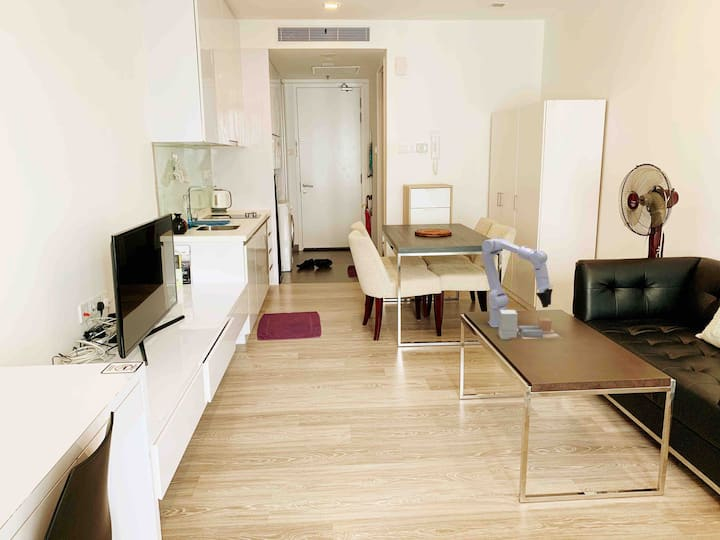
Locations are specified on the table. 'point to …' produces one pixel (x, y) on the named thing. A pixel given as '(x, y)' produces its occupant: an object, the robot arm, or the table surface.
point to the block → (544, 324)
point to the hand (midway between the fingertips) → (547, 306)
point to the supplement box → (508, 324)
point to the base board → (546, 335)
